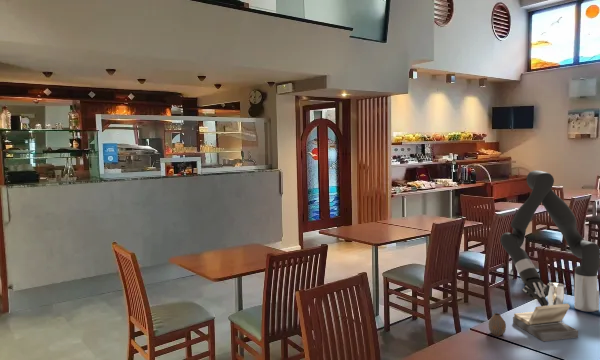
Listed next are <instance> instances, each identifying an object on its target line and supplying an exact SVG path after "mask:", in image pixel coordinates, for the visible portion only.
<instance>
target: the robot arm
mask: <svg viewBox="0 0 600 360" xmlns="http://www.w3.org/2000/svg"><path fill="white" fill-rule="evenodd" d="M526 182H527V185H528V187H529V188H530V190H531V192H530V195H529V197H528V198H527V199H526V200H525V202H523V204H522V205H521V206H520V207H519V208H518V210H516V212H515V215H514V216H513V219H512V220H511V223H510V227H511V228H512V233H511V232H504V233H503V234H501V236H500V244H501V246H502V248H503V249H504V250H505V251H506V253H507V254H508V255H509V257H510V258H511V260H512V262H513V264H514V266H515V269H516V271H517V274H518V275H519V277H520V279H521V281H522V283H523V284H524V287H523V288H522V289H521V291H522V292H523V293H524V294H526V295H527V296H528V297H529V298H531V299H532V300H537V301H538V303H539V305H540V306H548V305H549V303H548V299H547V298H546V297H547V296H548V293H549V288H550V286H549V285H548V284H547V285H546V284H545V283H544V282H543V281H542V280H541V276H540V274H539V272H538V270H537V269H536V267H535V265H534V263H533V262H532V259H530V257H529V255H528V252H526V250H524V249H523V248H522V246H523V245H524V241H525V237H526V234H527V233H526V231H527V228H528V226H529V225H530V223H531V220H532V218H533V216H534V215H535V213H536V211H537V209H538V208H539V206H540V205H541V204H542V206H543V207H544V209H545V210H546V212H547V213H548V215H549V217H550V219H551V220H552V221H553V223H554V224H555V226H556V227H557V229H558V230H559V232H560V233H561V235H562V236H563V238H564V240H565V242H566V243H567V245H568V246H567V247H568V248H569V249H570V251H571V253H572V254H573V256H574V257H576V258H578V259H580V260H581V263H580V265H577V266H575V268H574V308H575V309H576V310H579V311H582V312H591V313H593V312H597V311H599V310H600V291H599V290H598V272H599V270H600V246H599V245H598V244H597V243H596V242H592V241H588V240H586V239H584V238H583V237H582V235H581V234H580V232H579V231H578V227H577V218H576V216H575V214H574V213H573V211H572V209H571V208H570V207H569V205H568V204H567V203H566V202H565V201H564V200H563V199H562V198H561V197H560V196H558V194H557V193H556V192H554V190H553V189H552V187H553V186H554V184H555V183H554V182H555V178H554V176H553V175H552V174H551V173H549V172H547V171H542V170H536V169H535V170H532V171H530V172H529V173H527V176H526Z"/></svg>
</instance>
